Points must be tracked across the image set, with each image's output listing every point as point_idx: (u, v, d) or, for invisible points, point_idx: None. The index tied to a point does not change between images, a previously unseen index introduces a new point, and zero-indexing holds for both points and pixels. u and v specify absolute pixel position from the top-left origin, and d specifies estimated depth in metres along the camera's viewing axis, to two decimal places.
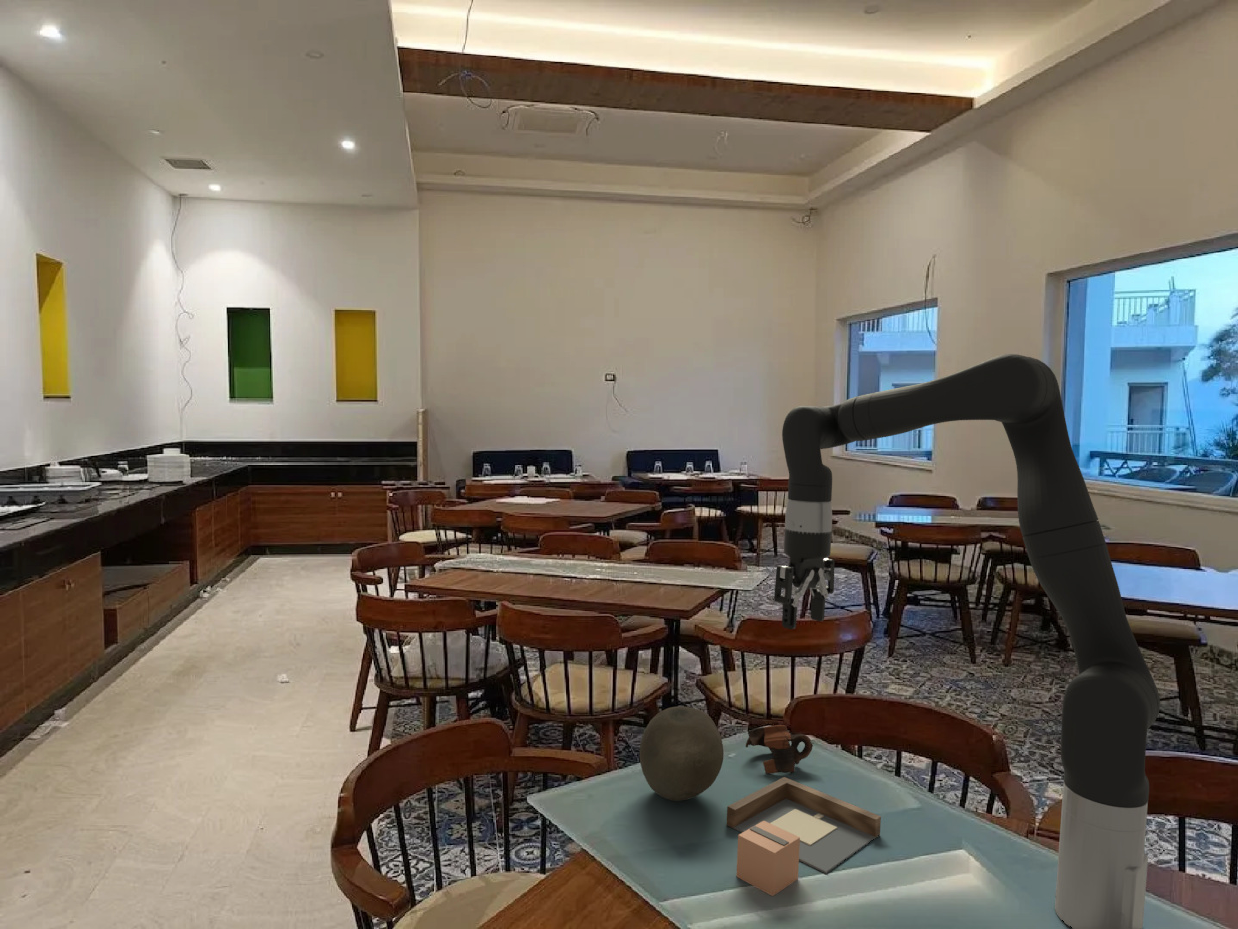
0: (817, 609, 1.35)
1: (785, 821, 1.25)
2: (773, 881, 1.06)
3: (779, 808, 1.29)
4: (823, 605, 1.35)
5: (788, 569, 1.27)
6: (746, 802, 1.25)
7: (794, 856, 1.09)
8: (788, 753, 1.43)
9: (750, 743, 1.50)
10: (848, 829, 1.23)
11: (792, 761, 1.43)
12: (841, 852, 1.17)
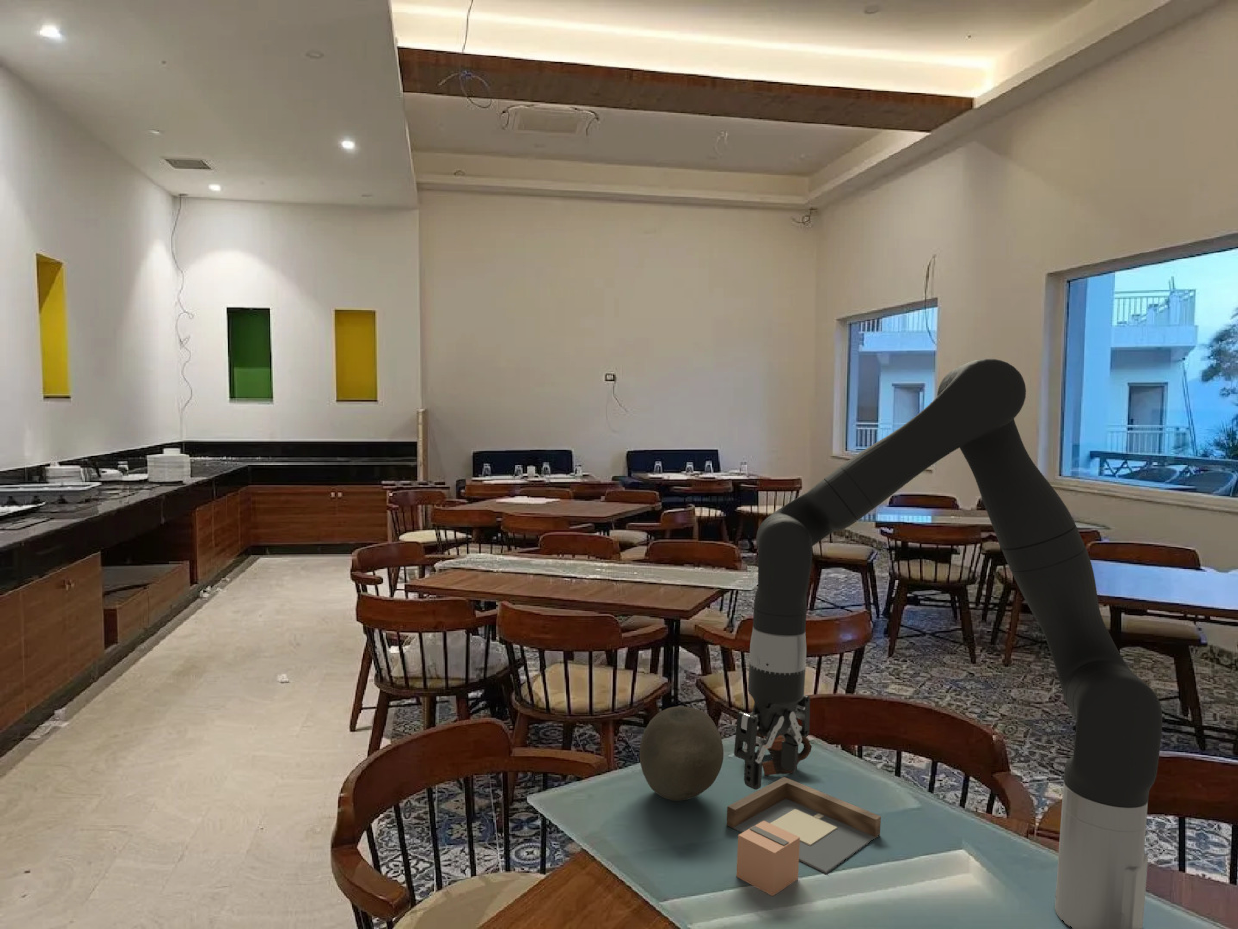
0: (789, 757, 1.12)
1: (785, 821, 1.25)
2: (773, 881, 1.06)
3: (779, 808, 1.29)
4: (796, 752, 1.11)
5: (751, 719, 1.03)
6: (746, 802, 1.25)
7: (794, 856, 1.09)
8: None
9: None
10: (848, 829, 1.23)
11: None
12: (841, 852, 1.17)
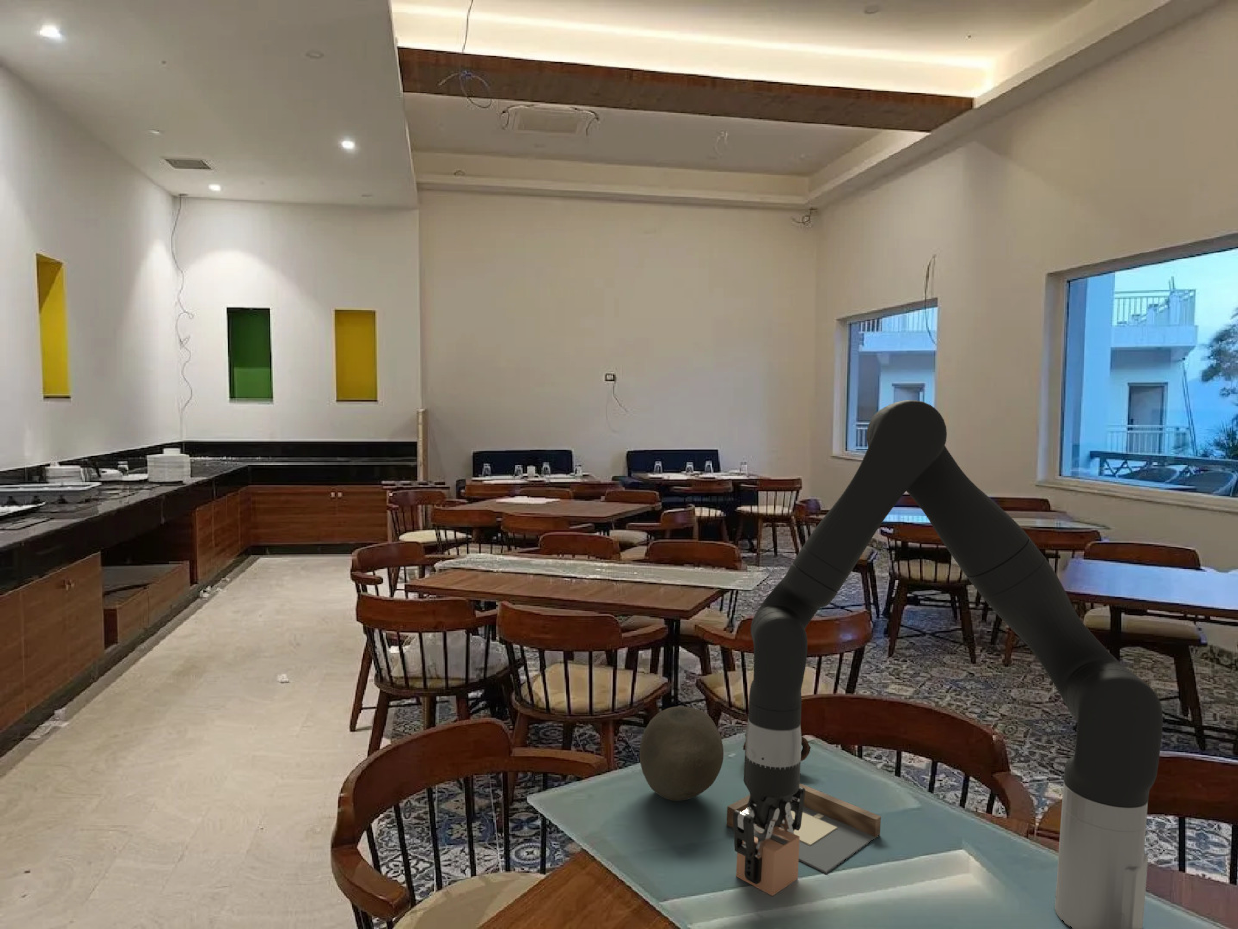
0: None
1: None
2: (773, 880, 1.06)
3: None
4: None
5: (746, 820, 1.04)
6: (746, 802, 1.25)
7: (793, 855, 1.09)
8: None
9: None
10: (848, 829, 1.23)
11: None
12: (841, 852, 1.17)
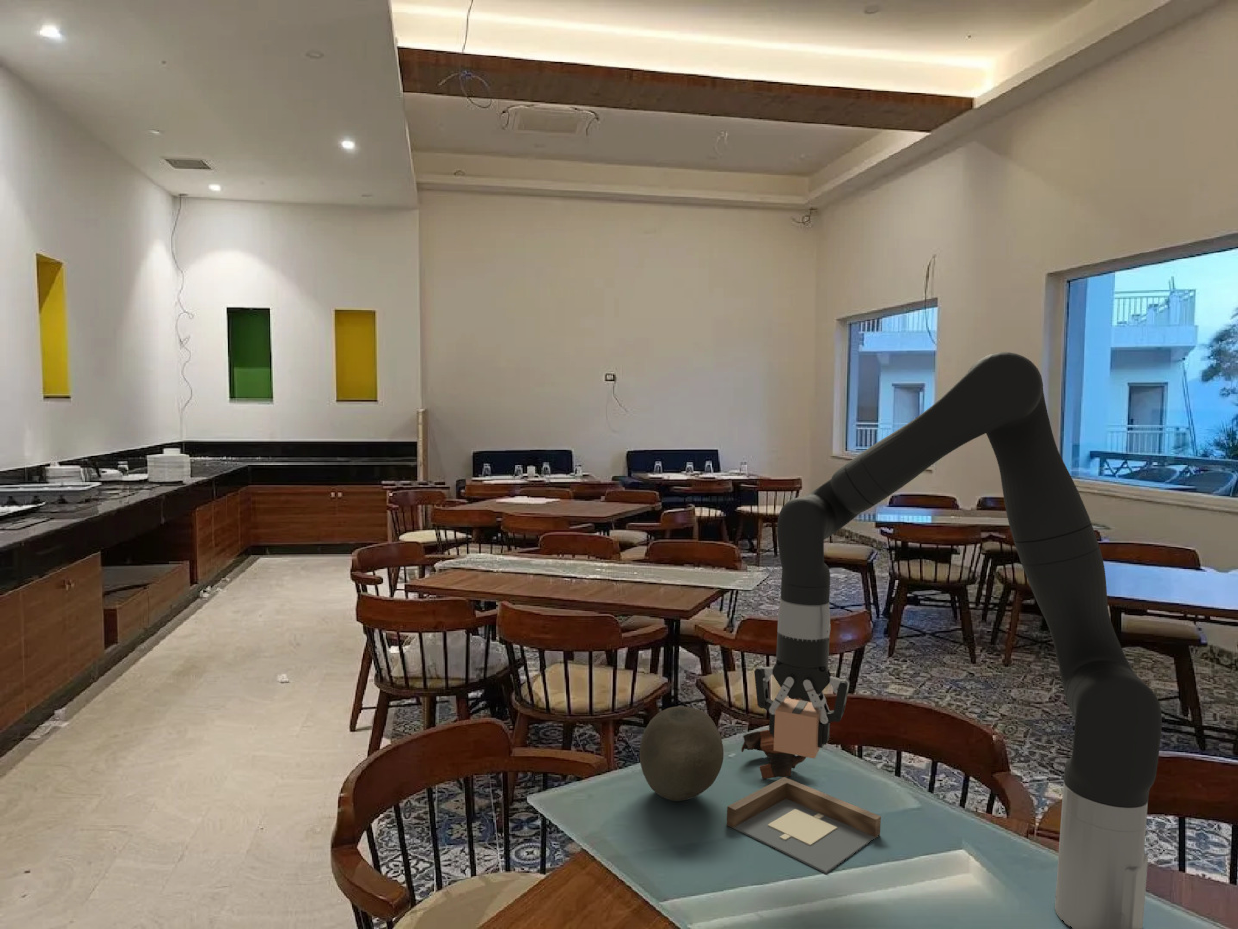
0: None
1: (785, 821, 1.25)
2: (774, 736, 1.17)
3: (779, 808, 1.29)
4: (819, 730, 1.16)
5: (755, 670, 1.20)
6: (746, 802, 1.25)
7: (807, 731, 1.15)
8: (784, 757, 1.42)
9: (745, 747, 1.48)
10: (848, 829, 1.23)
11: (789, 765, 1.42)
12: (841, 852, 1.17)
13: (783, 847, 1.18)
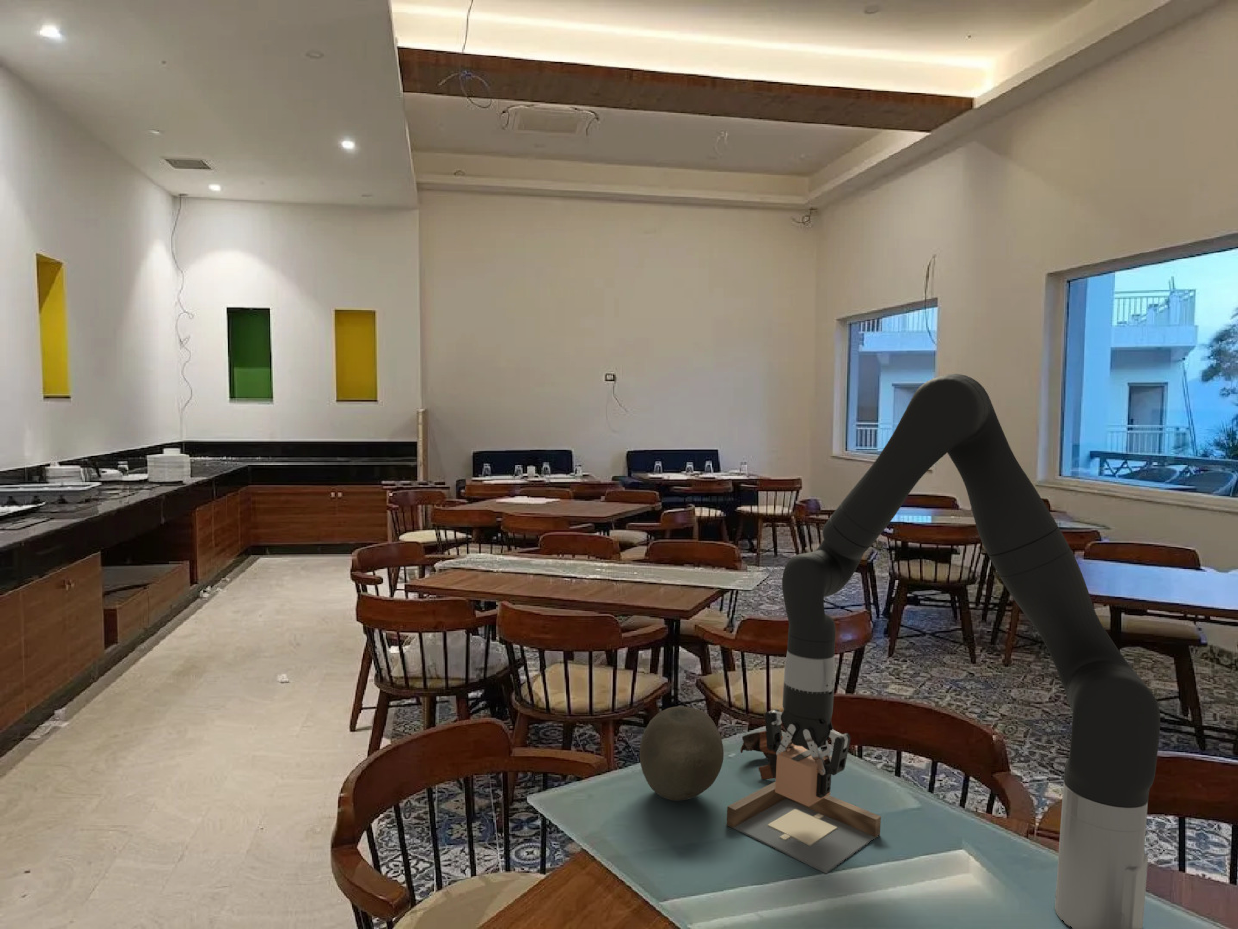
0: None
1: (785, 821, 1.25)
2: None
3: (779, 808, 1.29)
4: (818, 780, 1.20)
5: None
6: (746, 802, 1.25)
7: (803, 779, 1.20)
8: None
9: (744, 748, 1.47)
10: (848, 829, 1.23)
11: None
12: (841, 852, 1.17)
13: (783, 847, 1.18)
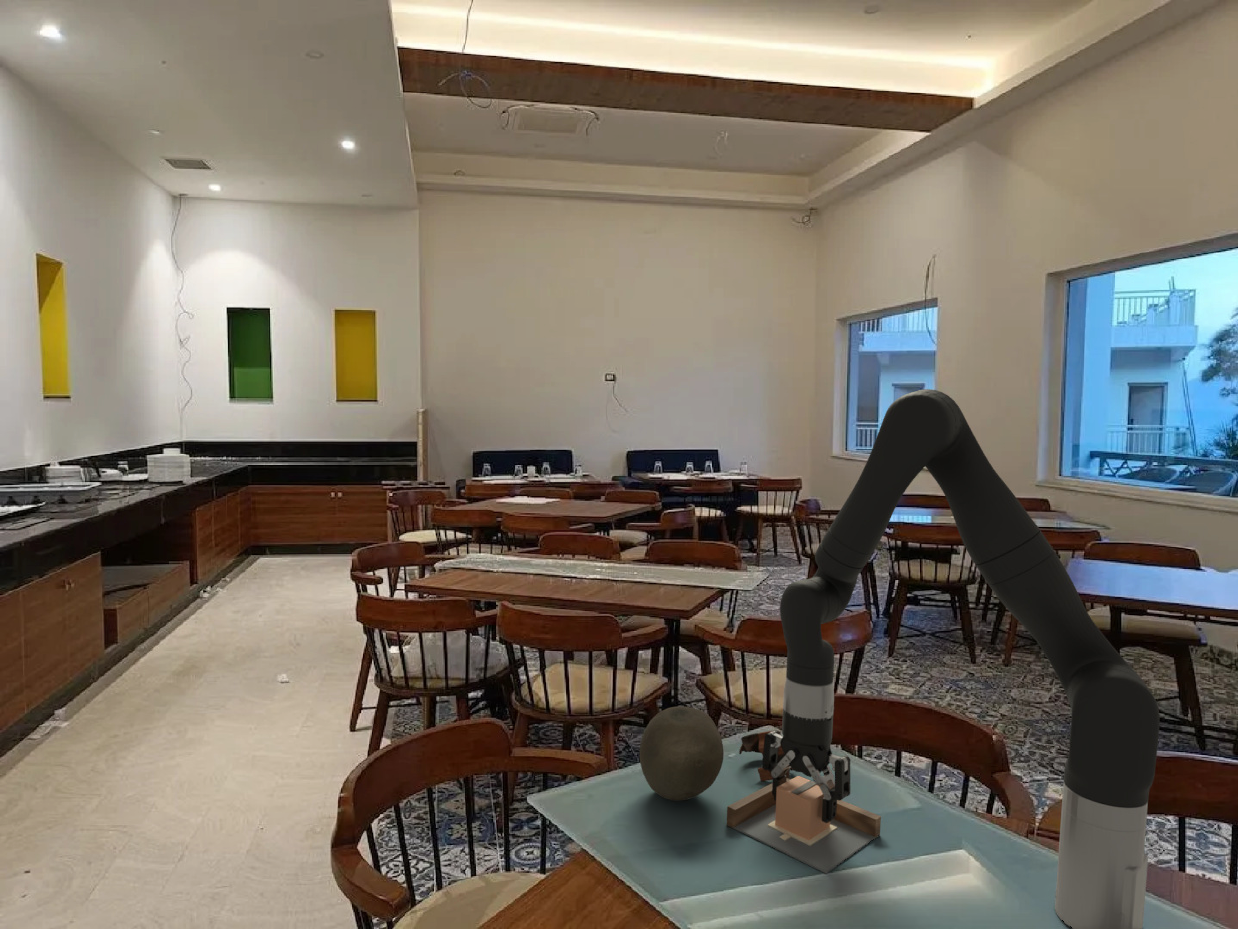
0: None
1: None
2: None
3: None
4: (824, 805, 1.19)
5: (766, 734, 1.27)
6: (746, 802, 1.25)
7: (802, 812, 1.20)
8: None
9: (743, 749, 1.47)
10: (848, 829, 1.23)
11: None
12: (841, 852, 1.17)
13: (783, 847, 1.18)
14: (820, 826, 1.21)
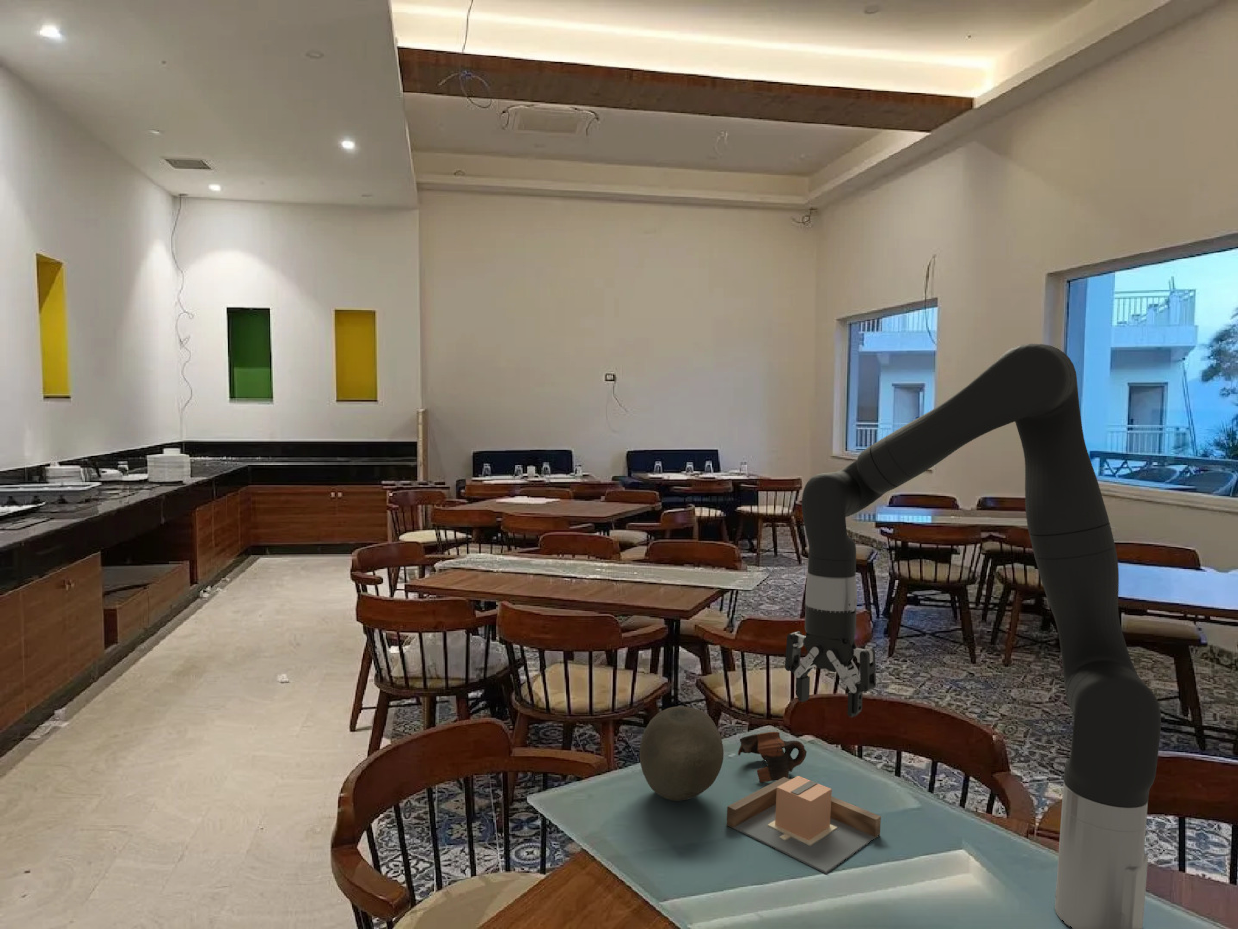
0: None
1: None
2: None
3: None
4: (849, 699, 1.18)
5: (788, 635, 1.26)
6: (746, 802, 1.25)
7: (802, 812, 1.20)
8: (782, 760, 1.40)
9: (742, 751, 1.46)
10: (848, 829, 1.23)
11: (786, 768, 1.40)
12: (841, 852, 1.17)
13: (783, 847, 1.18)
14: (820, 826, 1.21)
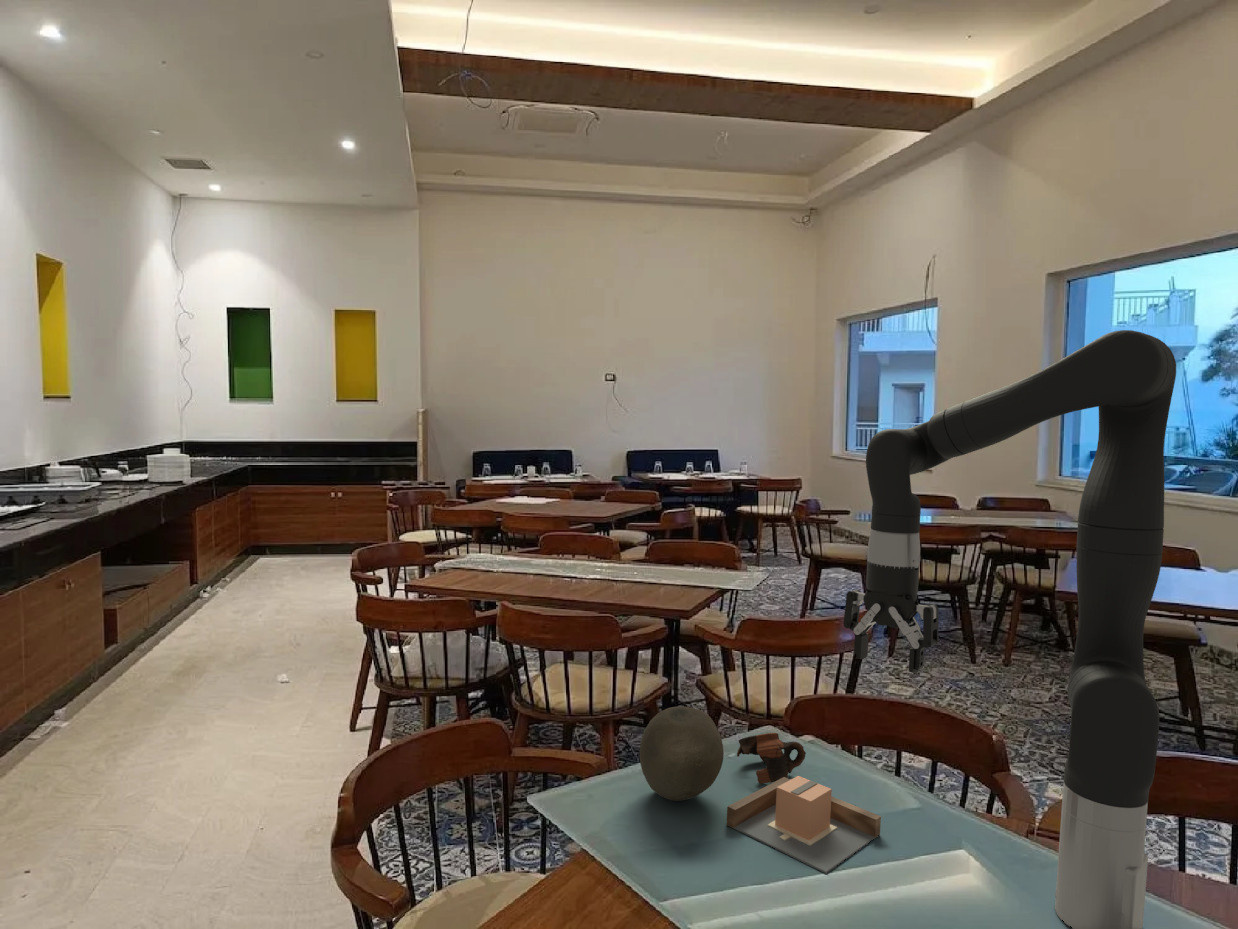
0: None
1: None
2: None
3: None
4: (911, 655, 1.19)
5: None
6: (746, 802, 1.25)
7: (802, 812, 1.20)
8: (781, 761, 1.40)
9: (741, 752, 1.46)
10: (848, 829, 1.23)
11: (785, 770, 1.40)
12: (841, 852, 1.17)
13: (783, 847, 1.18)
14: (820, 826, 1.21)
